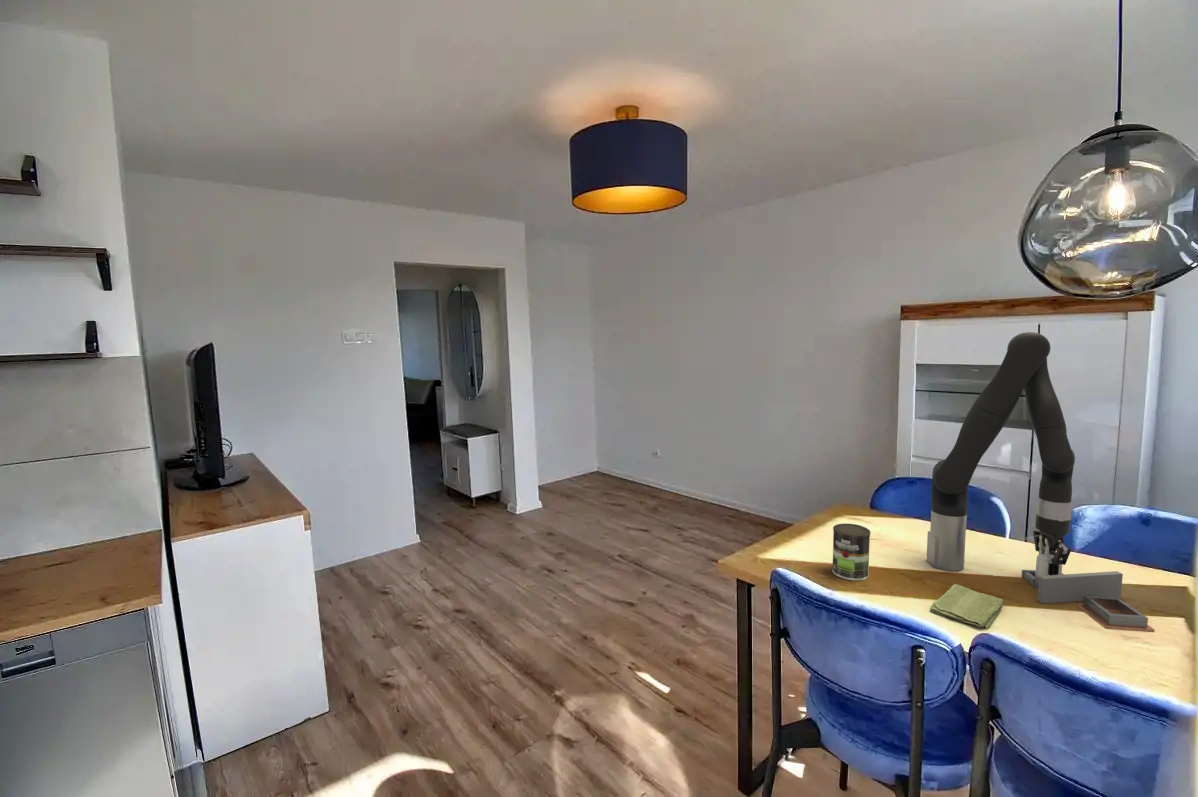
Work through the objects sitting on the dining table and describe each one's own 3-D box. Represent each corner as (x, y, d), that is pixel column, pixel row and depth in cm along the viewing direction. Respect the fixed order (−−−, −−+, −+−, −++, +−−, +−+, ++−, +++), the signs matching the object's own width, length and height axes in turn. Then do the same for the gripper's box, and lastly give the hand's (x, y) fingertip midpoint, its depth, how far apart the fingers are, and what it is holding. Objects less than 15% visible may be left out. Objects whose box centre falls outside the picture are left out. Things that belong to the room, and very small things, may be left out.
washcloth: (927, 613, 142) (927, 602, 141) (952, 591, 153) (952, 580, 152) (986, 634, 132) (987, 622, 131) (1008, 608, 142) (1008, 597, 142)
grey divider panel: (1042, 603, 144) (1044, 578, 143) (1037, 600, 145) (1039, 576, 144) (1120, 598, 145) (1122, 573, 144) (1114, 595, 146) (1116, 571, 145)
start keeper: (1036, 588, 151) (1036, 581, 151) (1021, 575, 159) (1021, 569, 159) (1077, 591, 149) (1077, 584, 149) (1059, 578, 157) (1060, 571, 157)
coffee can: (862, 584, 158) (864, 538, 156) (827, 574, 165) (827, 530, 163) (873, 571, 165) (875, 528, 163) (839, 562, 172) (839, 520, 170)
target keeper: (1105, 628, 131) (1106, 616, 131) (1076, 605, 142) (1077, 594, 142) (1154, 631, 129) (1155, 619, 129) (1121, 608, 140) (1122, 597, 139)
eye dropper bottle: (1057, 588, 151) (1061, 547, 149) (1032, 581, 155) (1036, 541, 154) (1062, 583, 153) (1066, 543, 152) (1038, 576, 158) (1041, 537, 156)
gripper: (1024, 505, 159) (1020, 560, 161) (1053, 523, 145) (1048, 583, 148) (1053, 506, 157) (1049, 562, 160) (1085, 524, 144) (1079, 585, 146)
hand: (1048, 572), depth 154 cm, fingers closed on eye dropper bottle, 3 cm apart
